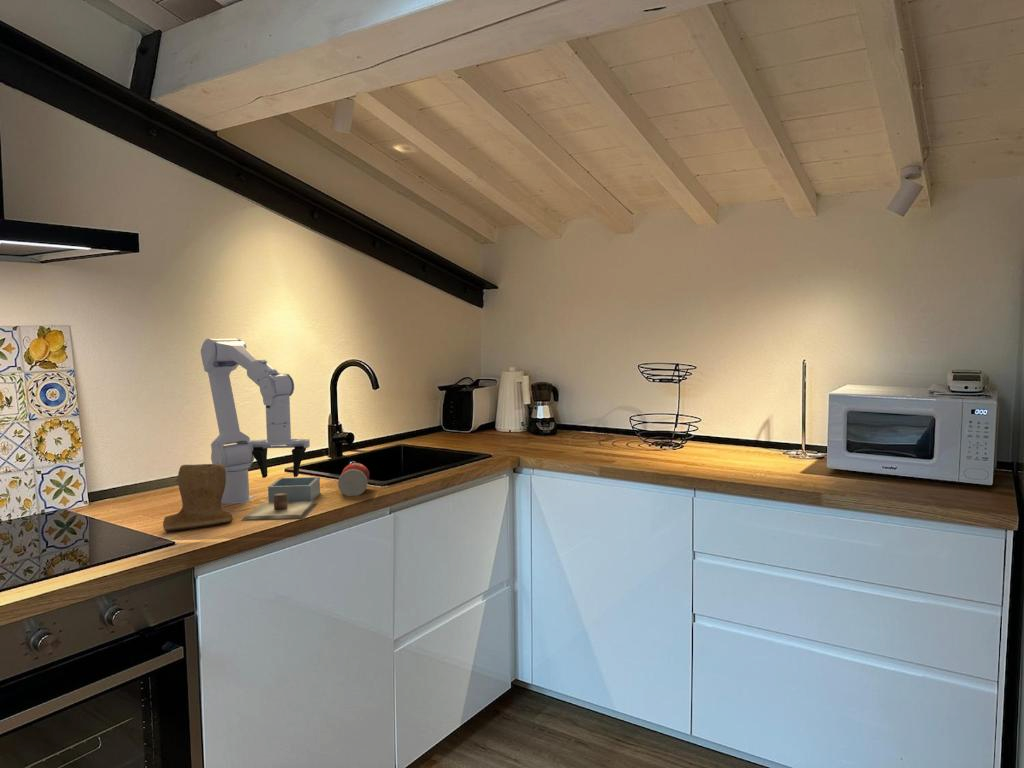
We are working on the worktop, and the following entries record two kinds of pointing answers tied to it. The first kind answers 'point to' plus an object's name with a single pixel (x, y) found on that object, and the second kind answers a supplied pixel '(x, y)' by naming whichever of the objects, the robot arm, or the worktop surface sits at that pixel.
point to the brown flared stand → (199, 497)
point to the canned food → (353, 479)
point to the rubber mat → (285, 518)
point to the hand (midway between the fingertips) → (280, 476)
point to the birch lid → (280, 509)
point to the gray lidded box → (295, 489)
